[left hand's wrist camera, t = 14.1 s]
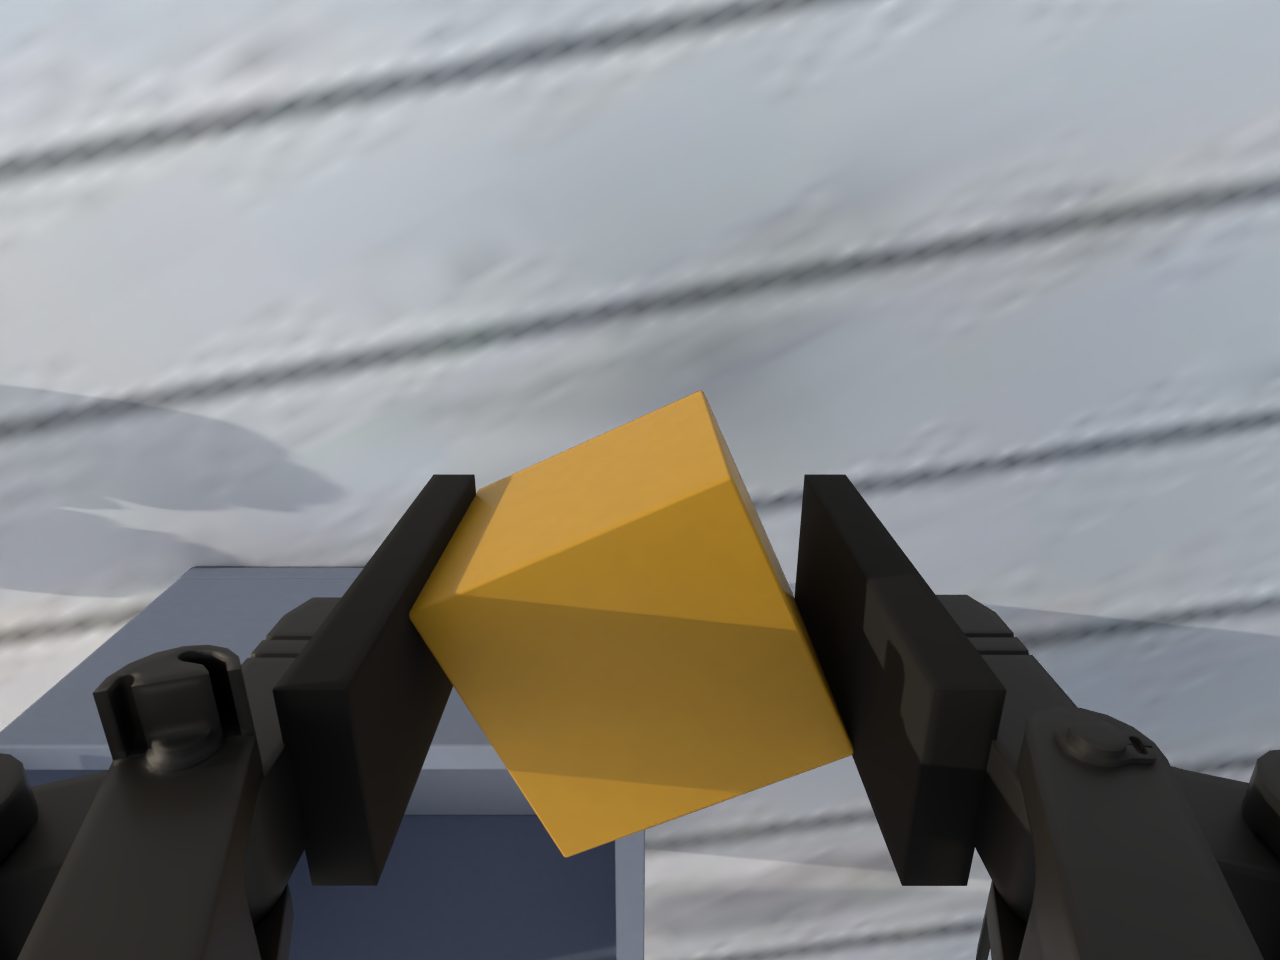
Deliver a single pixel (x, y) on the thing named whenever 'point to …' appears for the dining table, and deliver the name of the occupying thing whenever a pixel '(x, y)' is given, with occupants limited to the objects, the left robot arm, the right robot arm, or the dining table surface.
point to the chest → (430, 829)
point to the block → (629, 632)
